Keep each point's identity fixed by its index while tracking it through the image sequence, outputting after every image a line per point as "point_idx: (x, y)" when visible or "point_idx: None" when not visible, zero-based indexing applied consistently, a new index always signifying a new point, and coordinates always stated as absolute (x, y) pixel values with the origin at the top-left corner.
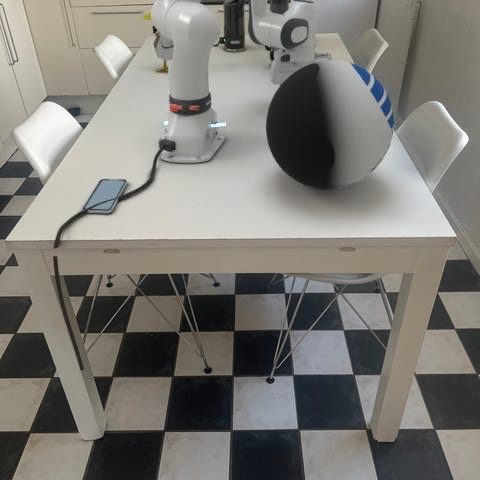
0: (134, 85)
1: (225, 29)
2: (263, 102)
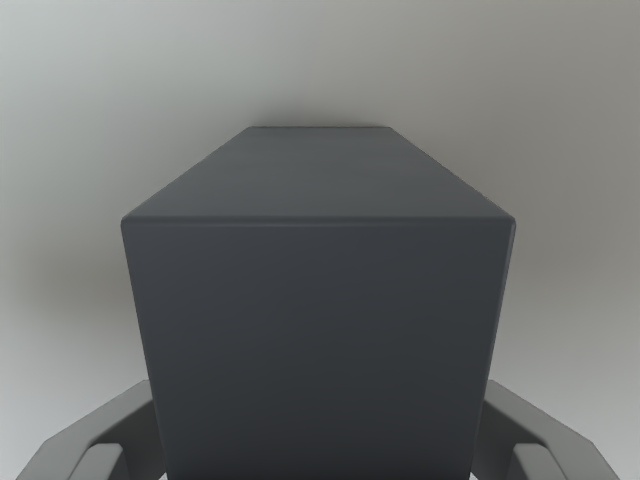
0: None
1: None
2: (636, 395)
